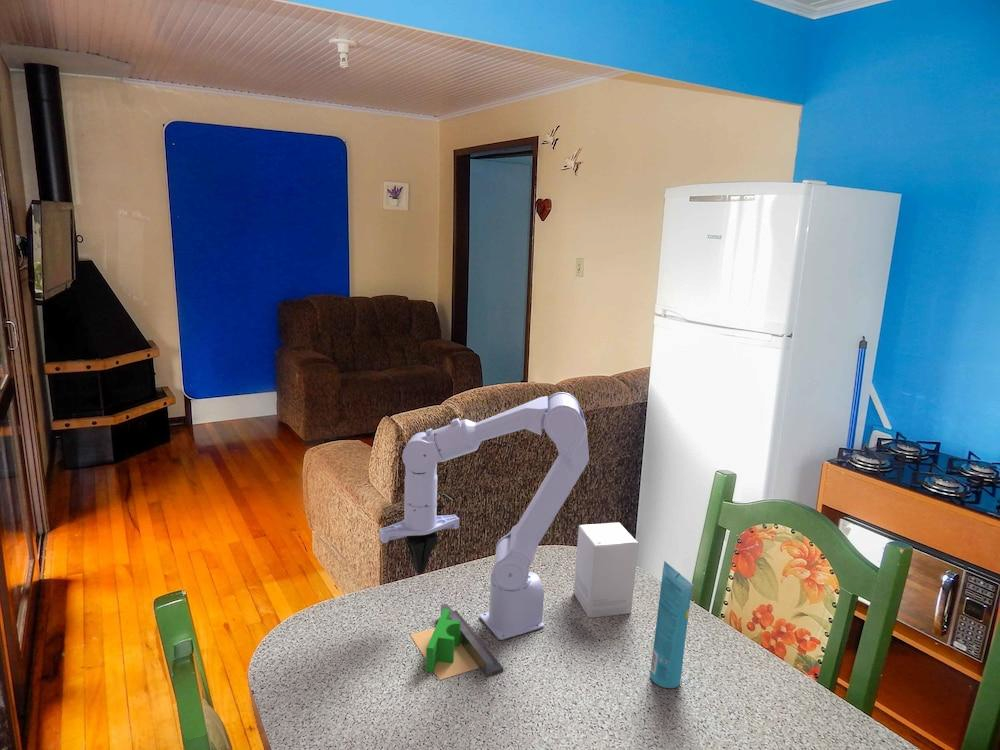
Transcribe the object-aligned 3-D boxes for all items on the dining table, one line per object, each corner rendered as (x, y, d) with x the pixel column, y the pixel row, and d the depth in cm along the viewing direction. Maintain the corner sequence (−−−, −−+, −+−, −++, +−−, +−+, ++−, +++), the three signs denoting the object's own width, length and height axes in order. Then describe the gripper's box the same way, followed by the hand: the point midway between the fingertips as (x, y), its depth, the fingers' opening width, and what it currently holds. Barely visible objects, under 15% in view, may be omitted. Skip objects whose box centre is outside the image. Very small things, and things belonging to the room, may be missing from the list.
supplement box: (632, 614, 123) (640, 542, 120) (588, 619, 121) (594, 546, 118) (614, 588, 132) (620, 521, 129) (572, 592, 130) (577, 523, 127)
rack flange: (456, 613, 121) (456, 601, 121) (503, 671, 106) (504, 657, 105) (404, 627, 116) (404, 614, 116) (446, 690, 101) (446, 676, 100)
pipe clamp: (448, 676, 104) (449, 651, 103) (425, 672, 105) (426, 647, 104) (463, 633, 115) (464, 610, 114) (443, 630, 116) (443, 607, 115)
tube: (691, 689, 104) (705, 581, 100) (668, 697, 102) (681, 587, 97) (661, 661, 110) (673, 558, 106) (638, 668, 108) (649, 564, 104)
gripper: (448, 486, 121) (446, 552, 124) (373, 498, 114) (373, 568, 117) (465, 500, 115) (462, 569, 118) (387, 514, 108) (386, 587, 111)
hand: (419, 570), depth 117 cm, fingers closed
